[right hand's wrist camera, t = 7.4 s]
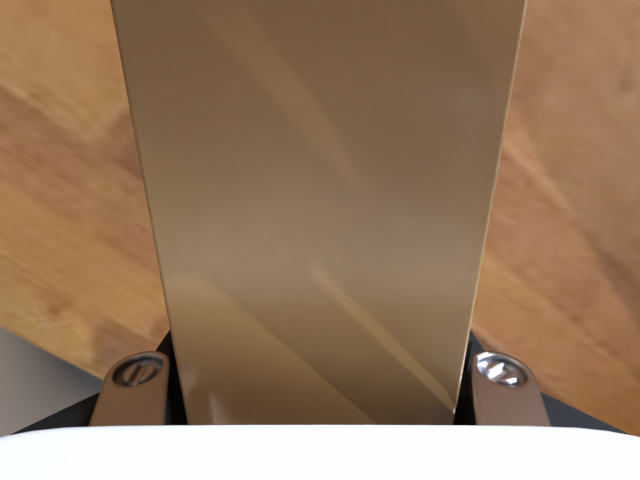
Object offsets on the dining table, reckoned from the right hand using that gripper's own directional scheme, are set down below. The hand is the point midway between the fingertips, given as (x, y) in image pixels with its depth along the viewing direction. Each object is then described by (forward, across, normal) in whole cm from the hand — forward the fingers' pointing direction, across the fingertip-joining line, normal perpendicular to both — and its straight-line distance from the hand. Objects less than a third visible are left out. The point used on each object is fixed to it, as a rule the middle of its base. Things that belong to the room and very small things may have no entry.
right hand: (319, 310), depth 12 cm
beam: (+3, 0, -20) cm, 20 cm away
